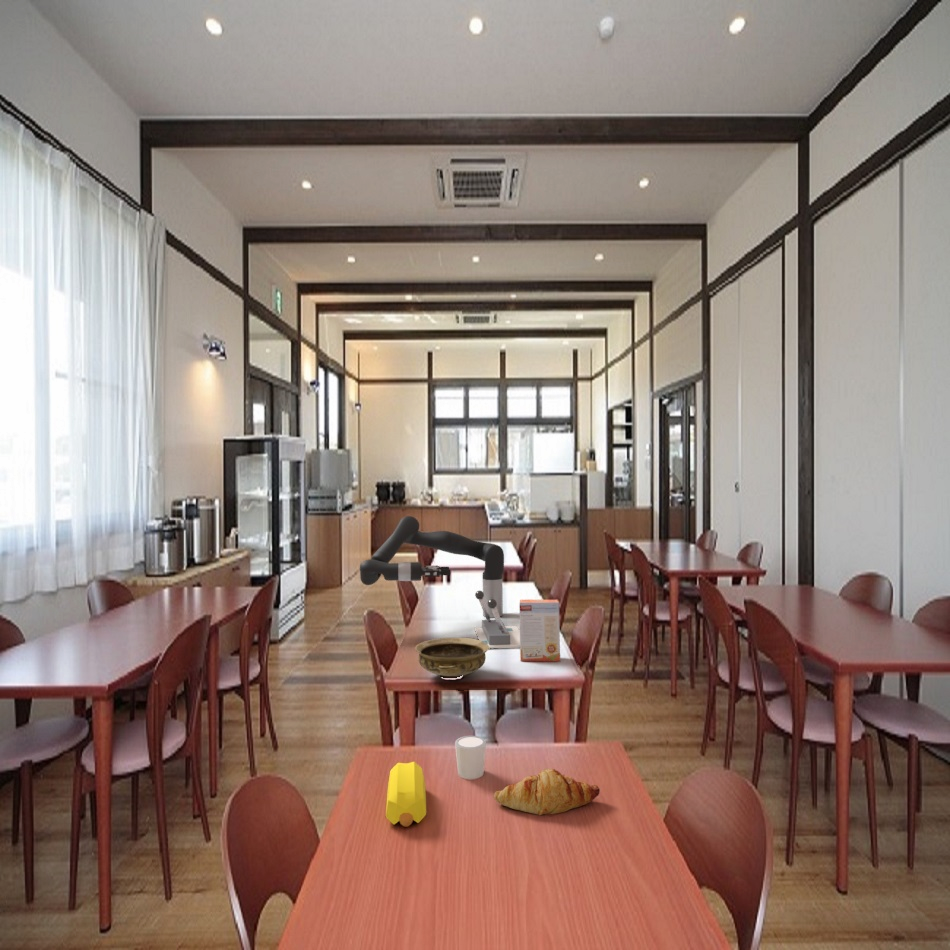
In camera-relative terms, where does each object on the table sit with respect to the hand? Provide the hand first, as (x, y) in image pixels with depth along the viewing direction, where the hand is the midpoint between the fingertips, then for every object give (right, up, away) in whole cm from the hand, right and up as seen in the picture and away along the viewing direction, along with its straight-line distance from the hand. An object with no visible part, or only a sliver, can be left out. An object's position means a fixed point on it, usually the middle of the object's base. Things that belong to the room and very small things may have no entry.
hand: (449, 570), depth 258 cm
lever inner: (+16, -21, +2) cm, 26 cm away
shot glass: (+10, -27, -119) cm, 123 cm away
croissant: (+25, -27, -132) cm, 137 cm away
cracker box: (+33, -26, -36) cm, 55 cm away
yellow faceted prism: (-3, -27, -133) cm, 135 cm away
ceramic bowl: (+3, -27, -54) cm, 60 cm away
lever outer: (+21, -21, -16) cm, 33 cm away
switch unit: (+21, -26, -7) cm, 34 cm away
